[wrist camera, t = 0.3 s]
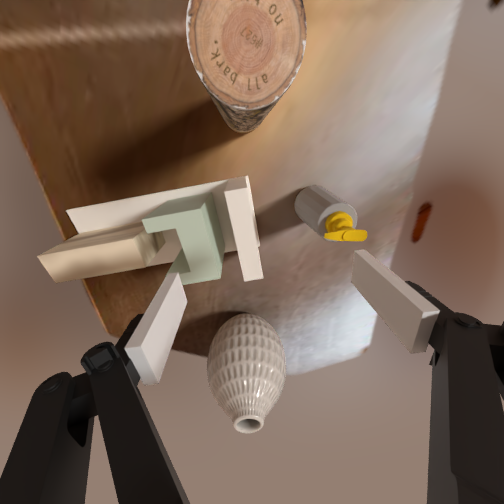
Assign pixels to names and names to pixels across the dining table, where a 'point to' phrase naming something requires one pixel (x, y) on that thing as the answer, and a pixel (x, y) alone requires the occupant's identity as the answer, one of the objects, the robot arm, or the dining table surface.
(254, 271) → the track
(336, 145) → the dining table surface
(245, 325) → the vase
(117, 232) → the beige wooden block
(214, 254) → the socket block
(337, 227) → the soap bottle
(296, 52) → the bark log
